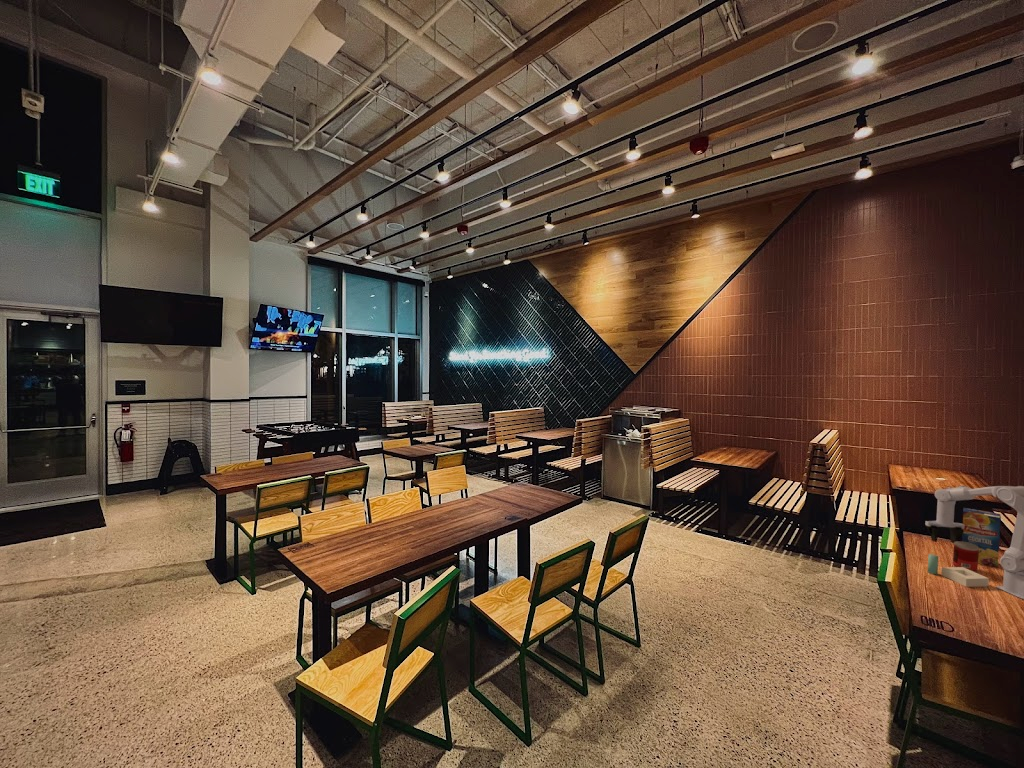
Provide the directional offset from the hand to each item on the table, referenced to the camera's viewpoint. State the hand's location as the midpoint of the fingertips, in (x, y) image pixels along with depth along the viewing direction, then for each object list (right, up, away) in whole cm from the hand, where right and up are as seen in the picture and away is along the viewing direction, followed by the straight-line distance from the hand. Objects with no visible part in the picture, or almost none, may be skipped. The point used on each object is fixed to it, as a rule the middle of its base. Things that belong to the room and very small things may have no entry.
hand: (943, 541), depth 202 cm
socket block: (-7, -11, -16) cm, 21 cm away
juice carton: (+19, -11, +2) cm, 22 cm away
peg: (-15, -11, -9) cm, 20 cm away
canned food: (+5, -10, -4) cm, 13 cm away
